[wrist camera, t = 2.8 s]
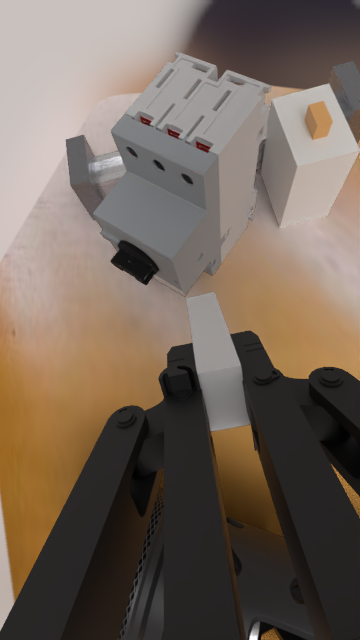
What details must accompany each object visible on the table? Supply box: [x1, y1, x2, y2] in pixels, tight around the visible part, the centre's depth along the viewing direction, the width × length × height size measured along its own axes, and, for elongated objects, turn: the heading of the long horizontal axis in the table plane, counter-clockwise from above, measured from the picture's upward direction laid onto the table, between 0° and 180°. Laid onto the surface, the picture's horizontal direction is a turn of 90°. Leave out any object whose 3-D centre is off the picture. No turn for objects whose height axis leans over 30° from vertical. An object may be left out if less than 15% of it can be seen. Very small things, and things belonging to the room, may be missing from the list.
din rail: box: [66, 61, 360, 220], centre depth 35 cm, size 30×6×6 cm, turn 101°
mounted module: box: [261, 84, 360, 228], centre depth 31 cm, size 5×8×10 cm, turn 11°
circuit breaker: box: [93, 52, 271, 297], centre depth 28 cm, size 8×14×15 cm, turn 145°
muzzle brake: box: [118, 488, 316, 640], centre depth 21 cm, size 10×28×10 cm, turn 74°
